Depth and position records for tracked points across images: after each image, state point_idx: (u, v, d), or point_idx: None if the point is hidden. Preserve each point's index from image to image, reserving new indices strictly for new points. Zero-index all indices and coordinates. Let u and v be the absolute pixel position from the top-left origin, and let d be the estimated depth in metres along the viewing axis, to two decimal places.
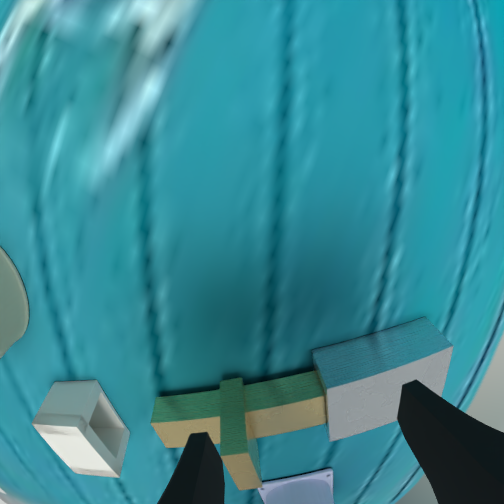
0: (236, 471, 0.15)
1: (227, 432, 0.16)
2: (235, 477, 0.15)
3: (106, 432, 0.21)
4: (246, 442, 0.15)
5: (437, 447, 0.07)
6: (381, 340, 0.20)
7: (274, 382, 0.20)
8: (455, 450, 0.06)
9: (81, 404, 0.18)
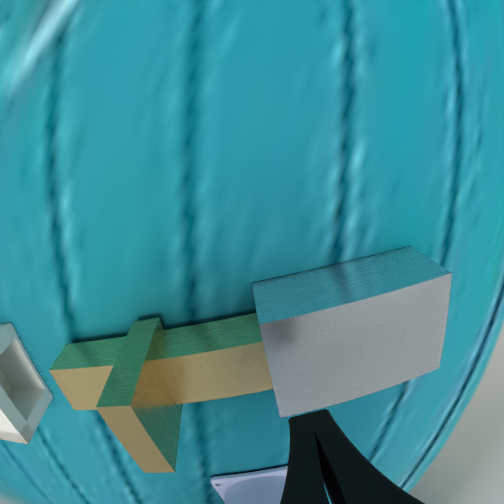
0: (127, 438, 0.10)
1: (116, 378, 0.11)
2: (130, 449, 0.10)
3: (26, 393, 0.17)
4: (133, 392, 0.10)
5: (333, 485, 0.07)
6: (348, 270, 0.15)
7: (201, 326, 0.16)
8: (341, 496, 0.06)
9: None
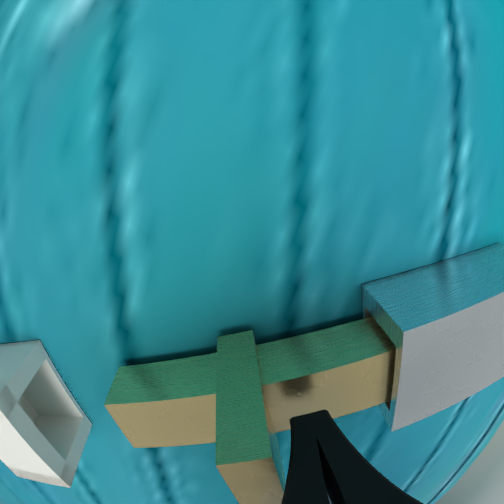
0: (247, 491, 0.08)
1: (229, 419, 0.09)
2: (244, 502, 0.08)
3: (59, 422, 0.14)
4: (267, 437, 0.08)
5: (332, 486, 0.07)
6: (457, 267, 0.12)
7: (305, 338, 0.13)
8: (340, 496, 0.06)
9: (10, 371, 0.11)
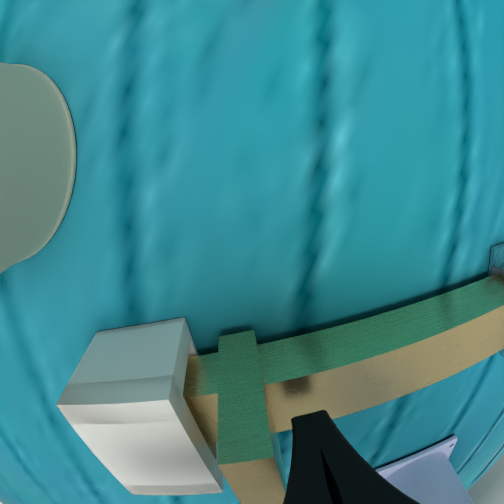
0: (249, 491, 0.08)
1: (231, 418, 0.09)
2: (246, 501, 0.08)
3: None
4: (269, 436, 0.08)
5: (331, 486, 0.07)
6: None
7: (306, 338, 0.13)
8: (338, 496, 0.06)
9: (166, 357, 0.11)
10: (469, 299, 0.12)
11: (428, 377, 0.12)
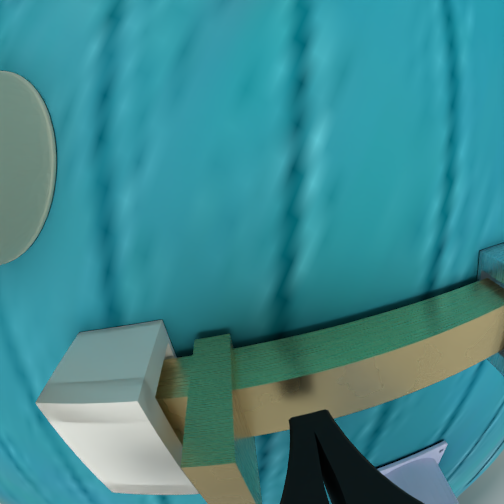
0: (215, 494, 0.07)
1: (198, 422, 0.08)
2: None
3: None
4: (232, 442, 0.08)
5: (333, 486, 0.07)
6: None
7: (283, 342, 0.13)
8: (341, 496, 0.06)
9: (140, 359, 0.11)
10: (454, 305, 0.12)
11: (408, 385, 0.12)
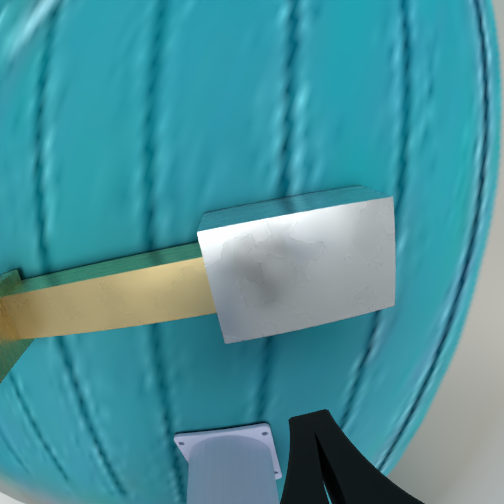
0: None
1: None
2: None
3: None
4: None
5: (333, 486, 0.07)
6: (292, 199, 0.16)
7: (40, 277, 0.17)
8: (341, 496, 0.06)
9: None
10: (148, 258, 0.16)
11: (104, 320, 0.15)
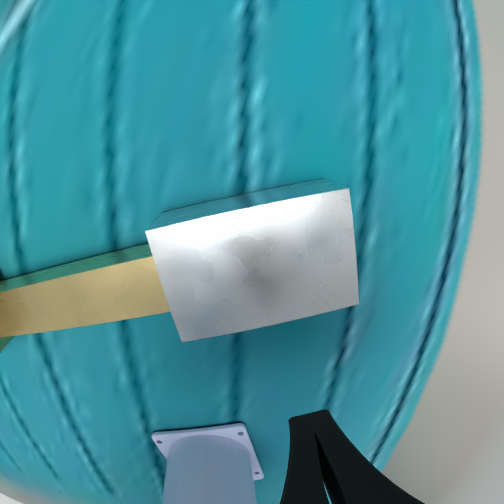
0: None
1: None
2: None
3: None
4: None
5: (333, 485, 0.07)
6: (248, 195, 0.16)
7: (16, 278, 0.17)
8: (341, 496, 0.06)
9: None
10: (109, 258, 0.16)
11: (70, 318, 0.15)
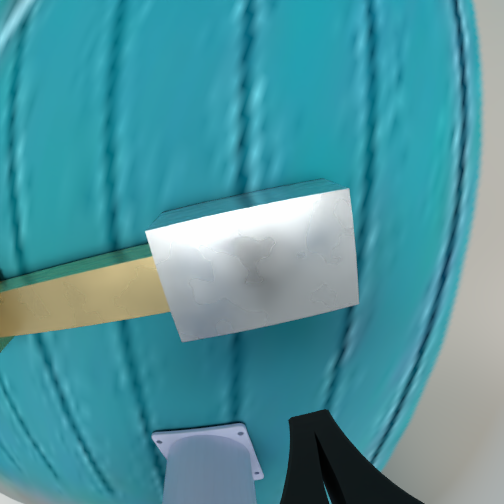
0: None
1: None
2: None
3: None
4: None
5: (333, 485, 0.07)
6: (248, 195, 0.16)
7: (16, 278, 0.17)
8: (341, 496, 0.06)
9: None
10: (109, 258, 0.16)
11: (70, 318, 0.15)
